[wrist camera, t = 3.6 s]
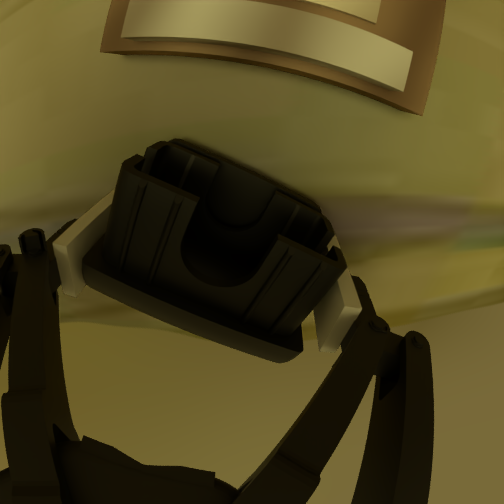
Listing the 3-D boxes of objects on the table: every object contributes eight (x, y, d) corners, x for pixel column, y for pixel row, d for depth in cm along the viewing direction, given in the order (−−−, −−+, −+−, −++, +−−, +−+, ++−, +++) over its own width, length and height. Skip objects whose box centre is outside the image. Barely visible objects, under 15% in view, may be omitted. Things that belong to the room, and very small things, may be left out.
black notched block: (129, 237, 17) (76, 309, 11) (163, 131, 14) (94, 167, 8) (270, 298, 19) (269, 386, 13) (331, 211, 15) (364, 289, 10)
